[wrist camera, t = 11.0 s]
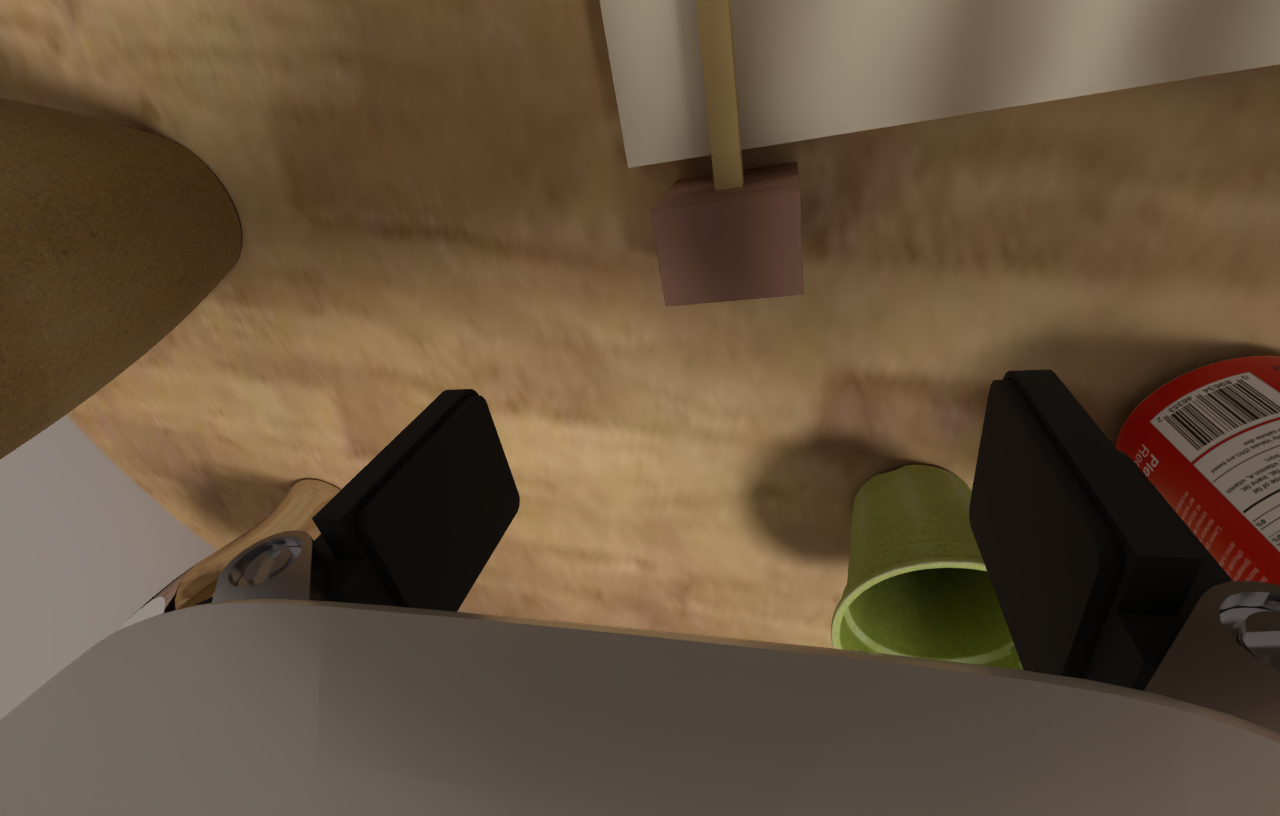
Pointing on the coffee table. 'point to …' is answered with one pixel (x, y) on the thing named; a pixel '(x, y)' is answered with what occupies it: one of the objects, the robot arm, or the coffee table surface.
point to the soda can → (1218, 459)
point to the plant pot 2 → (919, 574)
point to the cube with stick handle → (728, 201)
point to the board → (908, 60)
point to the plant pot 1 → (95, 255)
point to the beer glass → (240, 549)
